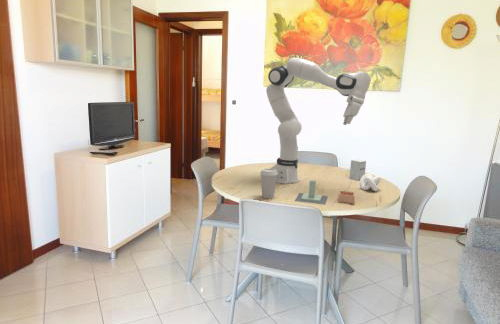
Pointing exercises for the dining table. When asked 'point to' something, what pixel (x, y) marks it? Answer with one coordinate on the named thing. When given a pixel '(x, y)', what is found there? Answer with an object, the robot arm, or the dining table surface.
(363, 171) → the supplement box
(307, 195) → the lid
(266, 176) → the coffee cup
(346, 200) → the open box
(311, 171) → the dining table surface
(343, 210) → the dining table surface
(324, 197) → the mat
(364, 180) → the white knot sculpture
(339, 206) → the dining table surface
